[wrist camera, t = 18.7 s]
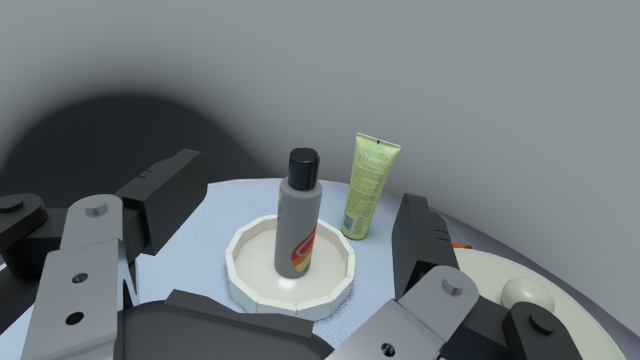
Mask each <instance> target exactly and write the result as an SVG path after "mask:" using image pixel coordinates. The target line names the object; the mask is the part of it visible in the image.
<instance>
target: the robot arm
mask: <svg viewBox="0 0 640 360" xmlns="http://www.w3.org/2000/svg"><path fill="white" fill-rule="evenodd" d="M207 188H208V184H207V170H206V157H205V155H204V153H202V152H197V151H191V150H187V149H183V150H181V151H180V152H179V153H177V154H176V155H175V156H173V157H172V158H171V159H169V158H168V159H166V160H163V161H160V162H158V163H155V164H154V165H153V166H151V167H150V168H149V169H147V171H146V172H144V173H142V174H141V175H139V177H137V178H135V179H134V180H132V181H131V182H130V183H128V184H127V185H126V186H124V187H123V188H121V189H120V190H119V191H117V192H116V193H115V194H113V195H108V194H101V195H94V196H90V197H86V198H83V199H81V200H79V201H77V202H75V203H74V204H73V205H72V206H71V207H70V208H59V209H45V206H44V204H43V202H42V199H41V198H40V197H39V196H37V195H34V194H15V195H9V196H5V197H2V198H0V254H1V256H2V258H3V260H4V261H5V263H6V265H7V266H6V267H5V268H4V269H2V270H1V271H0V335H1V334H2V333H3V332H4V331H5V330H6V329H7V328H9V327H10V326H11V325H12V324H13V323H14V322H15V321H16V320H17V319H18V318H19V317H20V316H21V315H22V314H23V313H24V312H25V311H26V310H27V309H28V308H29V307H31V306H32V305H33V304H34V303H35V304H34V308H33V312H32V316H31V320H30V324H29V328H28V332H27V336H26V340H25V344H24V348H23V352H22V356H21V360H441V358H444V359H445V360H583V358H582V357H581V355H580V353H579V351H578V349H577V347H576V345H575V343H574V341H573V339H572V337H571V335H570V333H569V332H568V330H567V328H566V327H565V326H564V324H563V323H562V322H561V321H560V320H559V319H558V318H557V317H556V316H555V315H554V314H552V313H551V312H550V311H548V310H546V309H545V308H543V307H541V306H539V305H537V304H534V303H531V302H526V301H520V302H517V303H515V304H513V306H512V307H511V309H508V308H506V307H503V306H501V305H499V304H497V303H495V302H493V301H490V300H488V299H486V298H484V297H483V296H481V295H480V294H479V291H478V288H477V286H476V284H475V283H474V281H473V280H472V279H471V278H470V277H469V276H468V275H466V274H465V273H463V272H462V271H460V268H459V265H458V261H457V258H456V255H455V252H454V248H453V245H452V242H451V239H450V236H449V234H448V229H447V226H446V223H445V221H444V220H443V219H442V218H441V217H440V215H439V214H438V213H437V212H432V211H429V208H428V204H427V201H426V198H425V197H422V196H417V195H412V194H407V193H406V194H404V196H403V199H402V202H401V205H400V208H399V211H398V214H397V217H396V220H395V223H394V226H393V231H392V255H393V271H394V287H395V299H391V300H389V301H388V302H387V303H386V304H384V305H383V306H382V307H381V308H380V309H379V310H378V311H377V312H376V313H375V314H374V315H372V316H371V317H370V318H369V319H368V320H367V321H366V322H365V323H364V324H363V325H362V326H361V327H359V328H358V329H357V330H356V331H355V332H354V333H353V334H352V335H351V336H350V337H349V338H348V339H346V340H345V341H344V342H343V343H342V344H341V345H340V346H339V347H338V348H337V349H336V350H335V349H334V348H333V347H332V346H331V345H329V344H328V343H327V342H326V341H324V340H323V339H322V338H320V337H319V336H317V335H315V334H313V333H312V330H313V324H314V321H311V320H306V319H302V318H298V317H293V316H289V315H285V314H280V313H238V312H235V311H233V310H232V309H230V308H228V307H226V306H224V305H222V304H220V303H218V302H216V301H215V300H213V299H211V298H209V297H206V296H202V295H198V294H193V293H189V292H185V291H180V290H176V289H173V291H172V292H171V294H170V295H169V297H168V298H167V299H166V300H159V301H152V302H147V303H143V304H140V300H139V282H138V264H137V260H136V258H137V257H138V256H139V255H140V253H143V254H148V255H152V256H155V255H156V254H157V253H158V252H159V251H160V250H161V248H162V247H163V246H164V245H165V244H166V243H167V241H168V240H169V239H170V238H171V237H172V236H173V235H174V233H175V232H176V231H177V230H178V229H179V228H180V226H181V225H182V224H183V223H184V222H185V221H186V220H187V218H188V217H189V216H190V215H191V214H192V213H193V212H194V210H195V209H196V208H197V207H198V206H199V205H200V203H201V202H202V201H203V200H204V198H205V196H206V193H207Z"/></svg>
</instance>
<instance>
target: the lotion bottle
mask: <svg viewBox="0 0 640 360" xmlns="http://www.w3.org/2000/svg"><path fill="white" fill-rule="evenodd" d="M319 163H320V157H319V156H318V153H317V152H316V151H315V150H314V149H311V148H296V149H294V150H292V151H291V153H290V159H289V170H288V177H286V178H284V179H283V180H282V181H281V184H280V191H279V203H278V216H277V229H276V242H275V255H274V266H275V269H276V271H277V272H278V273H279V274H280V275H282V276H284V277H286V278H299V277H301V276H303V275H305V274H306V273H307V271H308V270H309V267H310V263H311V257H312V251H313V245H314V239H315V233H316V227H317V221H318V215H319V209H320V203H321V196H322V185H321V184H320V182H319V181H318V180H317V176H318V169H319Z"/></svg>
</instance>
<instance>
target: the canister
mask: <svg viewBox="0 0 640 360" xmlns="http://www.w3.org/2000/svg"><path fill="white" fill-rule="evenodd" d="M454 252H455V255H456V258H457V261H458V265H459V268H460V271H462V272H463V273H465V274H466V275H468V276H469V277H470V278H471V279H472V280H473V281H474V283H475V284H476V286H477V288H478V291H479V294H480V295H481V296H483V297H484V298H486V299H488V300H490V301H493V302H495V303H497V304H499V305H501V306H503V307H506V308H508V309H511V307H512V306H513V304H515V303H517V302H520V301H526V302H531V303H534V304H537V305H539V306H541V307H543V308H545V309H546V310H548V311H550V312H551V313H552V314H554V315H555V316H556V317H557V318H558V319H559V320H560V321H561V322H562V323H563V324H564V326H565V327H566V328H567V330H568V332H569V333H570V335H571V337H572V339H573V341H574V343H575V345H576V347H577V349H578V351H579V353H580V355H581V357H582V358H583V360H626V358H625V357H624V355H623V354H622V352H621V351H620V349H619V348H618V346H617V345H616V344H615V342H614V341H613V340H612V338H611V337H610V336H609V335H608V333H607V332H606V331H605V330H604V329H603V328H602V326H601V325H600V324H599V323H598V322H597V321H596V320H595V319H594V318H593V317H592V316H591V315H590V314H589V313H588V312H587V311H586V310H585V309H584V308H583V307H582V306H581V305H580V304H579V303H577V302H576V301H575V300H574V299H573V298H572V297H570V296H569V295H568V294H567V293H566V292H564V291H563V290H562V289H560V288H559V287H558V286H556V285H555V284H553V283H552V282H550V281H549V280H547V279H546V278H544V277H543V276H541V275H539V274H538V273H536V272H534V271H532V270H530V269H528V268H526V267H524V266H522V265H520V264H518V263H516V262H513V261H511V260H508V259H505V258H502V257H500V256H497V255H494V254H490V253H487V252H483V251H478V250H473V249H465V248H454ZM441 360H445V359H444V358H441Z"/></svg>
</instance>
